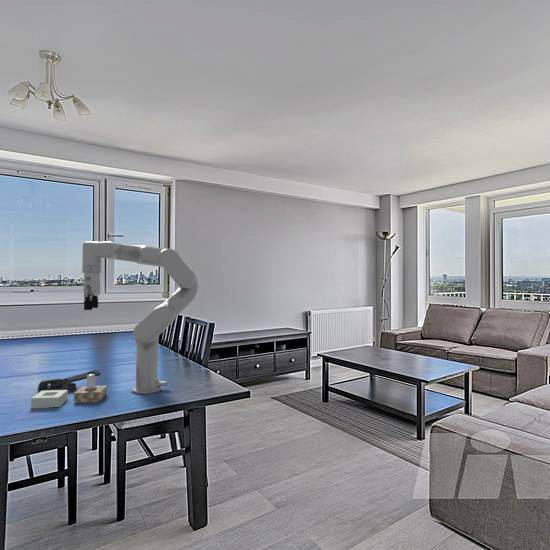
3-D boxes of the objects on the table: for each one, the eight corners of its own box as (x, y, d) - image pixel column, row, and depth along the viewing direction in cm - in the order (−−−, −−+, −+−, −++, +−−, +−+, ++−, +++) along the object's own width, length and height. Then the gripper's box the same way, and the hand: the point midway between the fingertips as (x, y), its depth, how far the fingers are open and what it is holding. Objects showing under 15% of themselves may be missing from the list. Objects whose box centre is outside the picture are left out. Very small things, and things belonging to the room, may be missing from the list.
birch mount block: (106, 394, 175) (106, 385, 175) (100, 402, 165) (100, 392, 165) (81, 395, 173) (81, 386, 173) (74, 403, 163) (74, 393, 163)
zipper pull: (102, 373, 186) (39, 381, 171) (102, 387, 186) (39, 397, 171) (97, 369, 193) (36, 376, 178) (97, 383, 193) (36, 391, 178)
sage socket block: (67, 399, 168) (67, 389, 168) (58, 407, 158) (58, 397, 158) (41, 400, 166) (41, 390, 166) (31, 408, 156) (31, 398, 156)
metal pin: (95, 397, 171) (95, 373, 171) (93, 399, 168) (93, 375, 168) (88, 397, 170) (88, 374, 170) (85, 400, 167) (86, 375, 167)
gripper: (95, 270, 170) (95, 310, 170) (105, 270, 187) (104, 307, 187) (76, 269, 169) (76, 310, 169) (88, 269, 186) (87, 307, 186)
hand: (91, 308), depth 178 cm, fingers open, 9 cm apart
